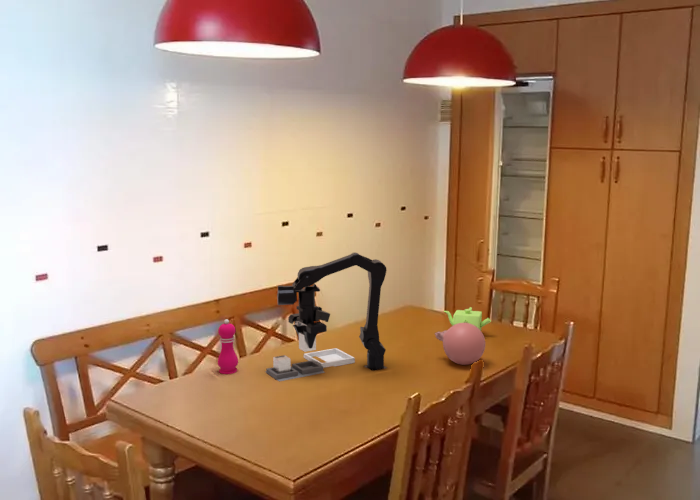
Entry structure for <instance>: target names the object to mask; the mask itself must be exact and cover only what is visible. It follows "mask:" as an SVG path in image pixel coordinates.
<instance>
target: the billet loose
mask: <svg viewBox="0 0 700 500" xmlns="http://www.w3.org/2000/svg"><path fill="white" fill-rule="evenodd" d="M298 349H299V350H300V351H303V352H304V353H308V352H313V351H316V350H317V337H316V338H315V341H314V344H313V347H312V348H309V346H308V344H307V341H306V337H305V334H304V332H299V336H298Z"/></svg>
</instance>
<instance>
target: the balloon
mask: <svg viewBox="0 0 700 500" xmlns="http://www.w3.org/2000/svg"><path fill="white" fill-rule="evenodd" d="M434 335H435V338H436V339H437V340H439V341H440V342H441V341H442V346H443V347H442V348H443V350H444V353H445V355H446V356H447V358H448V359H449V360H451V361H452V362H453V363H455V364H458V365H463V366H467V365H471V364H475V363H476V362H478V361H479V360H480V359H481V357H482V356H483V354H484V352H485V349H486V339H485V336H484V334H483V332H482V330H481V331H480V330H479V329H478V328H477V327H476V326H474V325H472V324H470V323H458V324H455V325H451V326H450V327H449V328H448V329H447V330H446V329H445V330H443V331H437V332H435V333H434Z"/></svg>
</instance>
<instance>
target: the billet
mask: <svg viewBox="0 0 700 500" xmlns="http://www.w3.org/2000/svg"><path fill="white" fill-rule="evenodd" d="M272 360H273V361H272V362H273V363H272V364H273V365H272V366H273V367H272V368H274V372H275V373H277V374H281V373H286V372H291V367H292V363H291V360H292V359H291V358H290V357H289V356H287V355H278V356H273V357H272Z"/></svg>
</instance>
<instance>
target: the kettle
mask: <svg viewBox="0 0 700 500" xmlns="http://www.w3.org/2000/svg"><path fill="white" fill-rule="evenodd" d="M443 312H444V313H445V314H446V315H447V317H448V322H449V323H450V324H451V326H453V325H455V324H458V323H470V324H472V325H474V326H476V327H477V328H478V329H479V330H480V331H481V332H482V328H483V327H485V326H486V325H488V324H490V323H491V322H492V320H491V318H489V317H487V318H485V319H484V320H482V317H483V314H482V313H483V311H482V310H481V311H479V310H473V307H471V306H469V308H464V310H462V309H456V311H455V312H454V314H453V316H452V314H451V312H450V311H449V310H443Z"/></svg>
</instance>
